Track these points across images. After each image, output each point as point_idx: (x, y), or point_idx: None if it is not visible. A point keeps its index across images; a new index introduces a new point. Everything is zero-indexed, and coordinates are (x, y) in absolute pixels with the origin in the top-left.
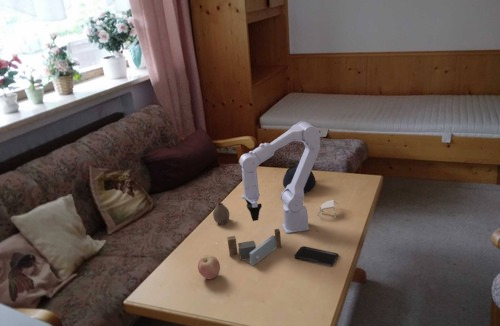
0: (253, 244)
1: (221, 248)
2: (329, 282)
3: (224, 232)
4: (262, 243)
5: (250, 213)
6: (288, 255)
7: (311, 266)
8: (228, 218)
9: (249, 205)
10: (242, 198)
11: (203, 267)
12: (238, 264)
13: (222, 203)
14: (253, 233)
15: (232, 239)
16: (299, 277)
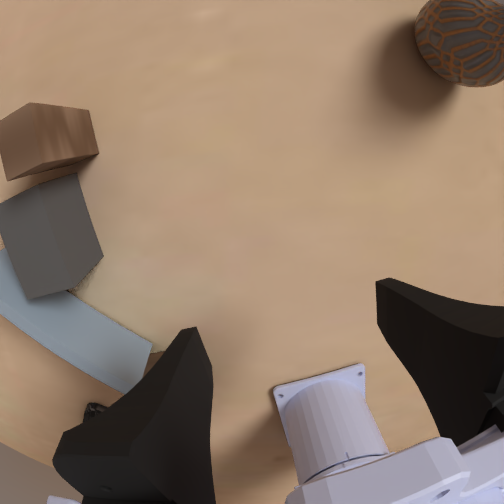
0: (37, 286)
1: (139, 52)
2: (24, 442)
3: (330, 47)
4: (49, 337)
5: (144, 382)
6: (100, 388)
7: (64, 431)
8: (446, 77)
9: (113, 483)
10: (288, 499)
11: None
12: (6, 187)
13: None
14: (301, 229)
15: (2, 156)
16: (9, 395)
